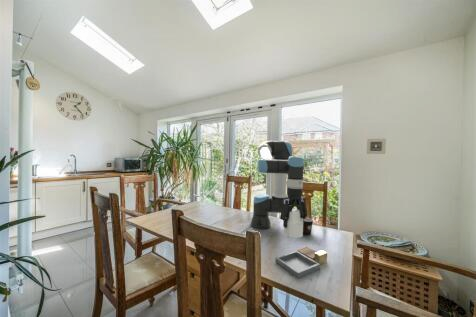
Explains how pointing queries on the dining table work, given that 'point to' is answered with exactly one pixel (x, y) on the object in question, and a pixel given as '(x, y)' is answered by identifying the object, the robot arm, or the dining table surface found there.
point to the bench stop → (320, 257)
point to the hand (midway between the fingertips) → (293, 232)
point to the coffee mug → (307, 226)
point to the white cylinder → (295, 224)
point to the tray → (297, 264)
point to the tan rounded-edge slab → (307, 252)
